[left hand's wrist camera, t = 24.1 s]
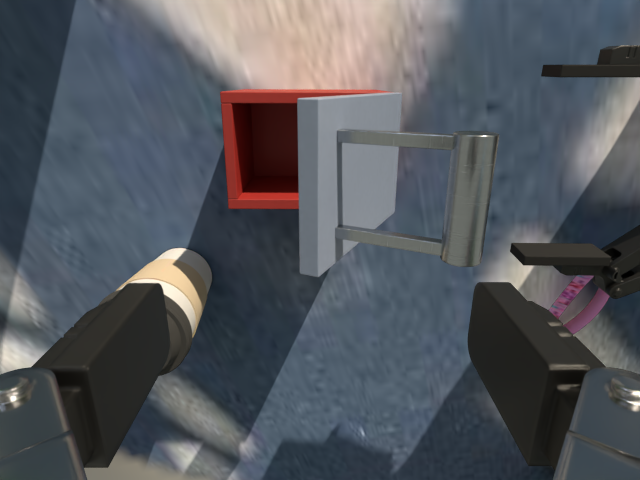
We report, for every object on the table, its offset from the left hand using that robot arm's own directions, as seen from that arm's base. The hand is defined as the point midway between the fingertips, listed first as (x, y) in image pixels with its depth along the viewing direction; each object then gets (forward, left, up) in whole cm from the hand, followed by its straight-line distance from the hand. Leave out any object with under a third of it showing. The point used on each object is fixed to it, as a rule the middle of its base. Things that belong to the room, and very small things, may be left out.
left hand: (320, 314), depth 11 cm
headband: (-9, +35, -37) cm, 52 cm away
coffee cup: (+23, 0, -37) cm, 44 cm away
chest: (+1, -1, -37) cm, 37 cm away
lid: (-2, +1, -19) cm, 20 cm away
